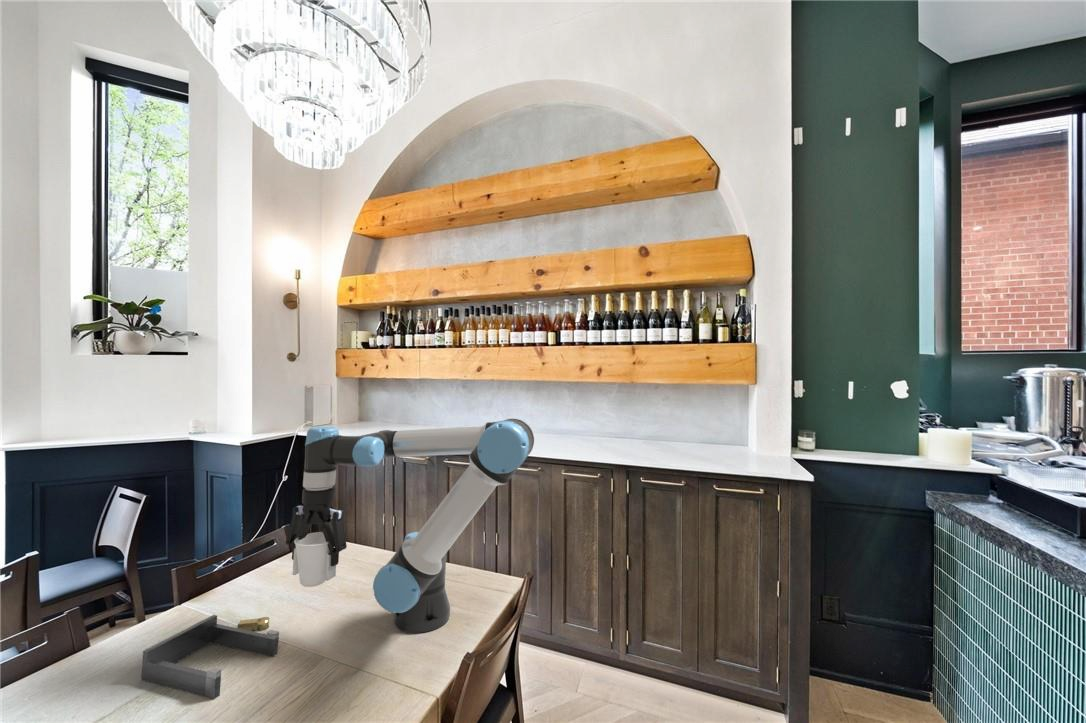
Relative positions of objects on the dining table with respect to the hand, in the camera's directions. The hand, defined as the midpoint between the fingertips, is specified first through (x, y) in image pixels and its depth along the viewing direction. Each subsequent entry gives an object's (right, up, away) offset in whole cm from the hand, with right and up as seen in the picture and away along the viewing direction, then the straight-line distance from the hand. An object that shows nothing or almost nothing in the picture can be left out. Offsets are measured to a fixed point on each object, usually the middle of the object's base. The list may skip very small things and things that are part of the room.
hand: (314, 575), depth 110 cm
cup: (0, -2, 0) cm, 2 cm away
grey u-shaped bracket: (-16, -14, -13) cm, 25 cm away
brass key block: (-18, -15, +2) cm, 24 cm away
